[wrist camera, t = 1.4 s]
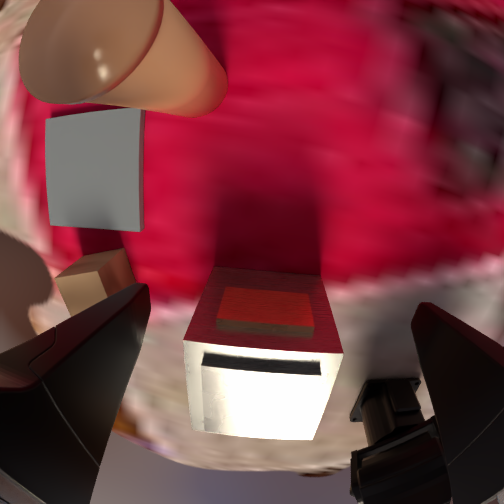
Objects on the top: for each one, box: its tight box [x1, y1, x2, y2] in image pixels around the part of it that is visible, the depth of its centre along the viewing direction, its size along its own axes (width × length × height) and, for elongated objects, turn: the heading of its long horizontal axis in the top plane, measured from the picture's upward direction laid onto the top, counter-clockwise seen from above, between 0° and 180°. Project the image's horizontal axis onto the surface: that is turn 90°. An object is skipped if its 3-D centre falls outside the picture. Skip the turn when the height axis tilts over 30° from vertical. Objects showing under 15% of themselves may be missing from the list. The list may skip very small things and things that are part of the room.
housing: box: [183, 266, 344, 440], centre depth 19 cm, size 8×8×10 cm
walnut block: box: [54, 248, 136, 317], centre depth 22 cm, size 4×4×4 cm
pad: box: [45, 108, 145, 232], centre depth 20 cm, size 9×9×1 cm
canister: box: [19, 0, 228, 118], centre depth 12 cm, size 5×5×14 cm
